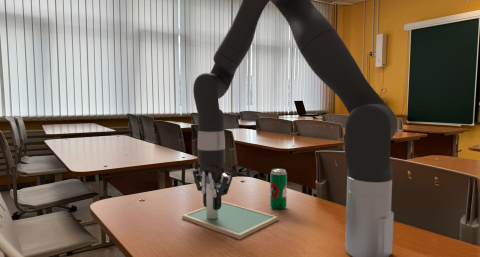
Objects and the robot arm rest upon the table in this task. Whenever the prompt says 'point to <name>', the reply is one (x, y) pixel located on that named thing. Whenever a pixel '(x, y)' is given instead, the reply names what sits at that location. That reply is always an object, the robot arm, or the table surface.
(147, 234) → the table surface
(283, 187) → the soda can
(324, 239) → the table surface
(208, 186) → the marker
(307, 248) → the table surface
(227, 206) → the slate
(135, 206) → the table surface
